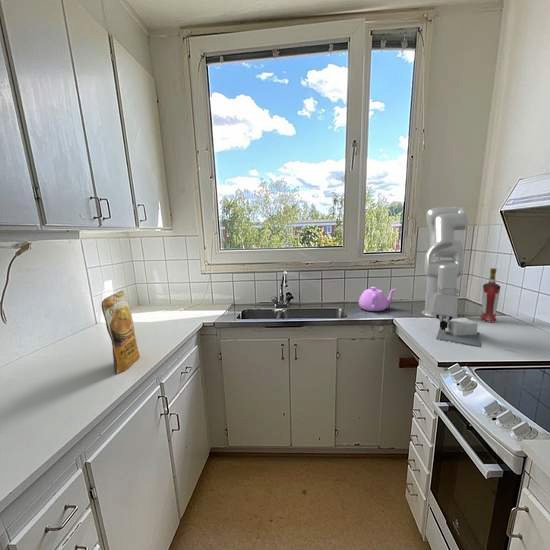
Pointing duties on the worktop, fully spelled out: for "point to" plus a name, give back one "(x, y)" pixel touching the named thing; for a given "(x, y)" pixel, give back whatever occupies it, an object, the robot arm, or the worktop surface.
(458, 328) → the small box
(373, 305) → the teapot
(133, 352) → the pancake mix bag
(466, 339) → the mat
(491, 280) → the liquor
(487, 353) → the worktop surface
